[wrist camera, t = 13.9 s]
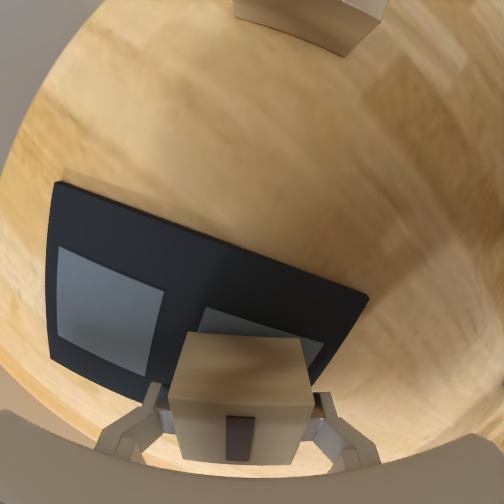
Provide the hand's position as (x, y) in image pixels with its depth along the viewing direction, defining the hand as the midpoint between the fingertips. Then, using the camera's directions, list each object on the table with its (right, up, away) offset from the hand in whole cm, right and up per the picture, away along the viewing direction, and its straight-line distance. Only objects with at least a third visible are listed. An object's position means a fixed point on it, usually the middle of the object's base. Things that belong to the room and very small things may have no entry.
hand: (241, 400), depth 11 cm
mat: (-4, +2, +2) cm, 5 cm away
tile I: (0, +1, +2) cm, 2 cm away
